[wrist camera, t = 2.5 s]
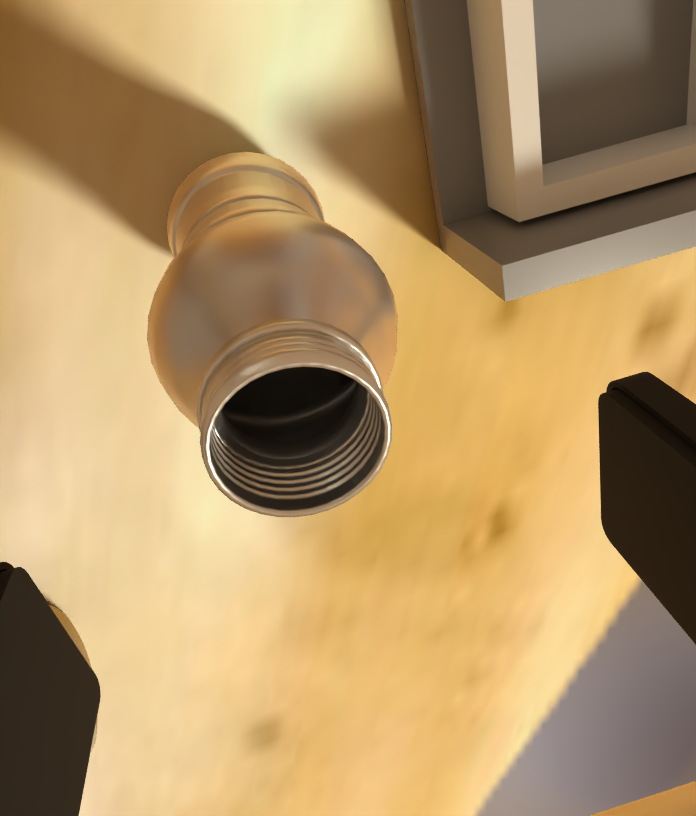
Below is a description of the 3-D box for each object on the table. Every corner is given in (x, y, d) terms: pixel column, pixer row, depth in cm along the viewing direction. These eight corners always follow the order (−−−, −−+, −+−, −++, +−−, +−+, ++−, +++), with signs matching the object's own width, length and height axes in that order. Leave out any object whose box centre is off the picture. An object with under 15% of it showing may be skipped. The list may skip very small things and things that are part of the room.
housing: (380, -160, 24) (451, -251, 17) (771, -255, 24) (991, -379, 18) (441, 249, 32) (505, 301, 25) (732, 166, 33) (873, 194, 26)
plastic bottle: (153, 156, 27) (58, 319, 10) (306, 133, 28) (463, 248, 11) (189, 297, 30) (163, 602, 13) (325, 273, 31) (469, 534, 14)
